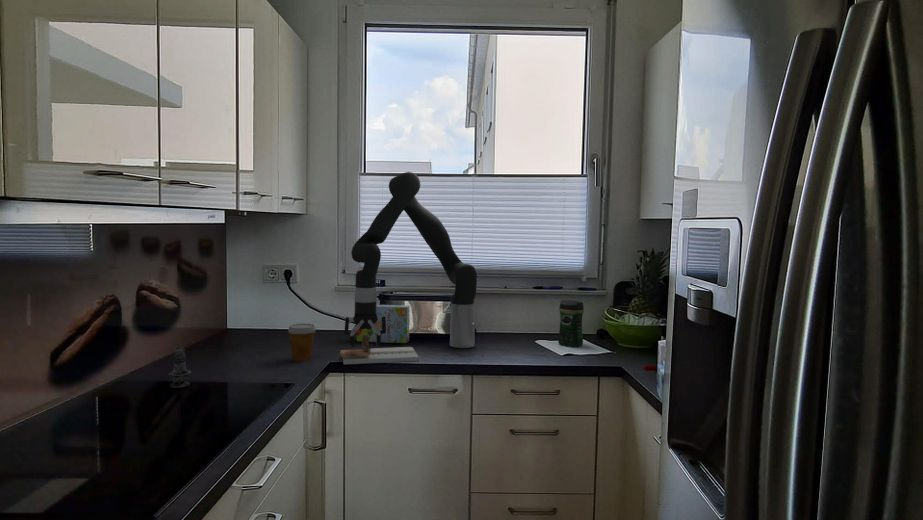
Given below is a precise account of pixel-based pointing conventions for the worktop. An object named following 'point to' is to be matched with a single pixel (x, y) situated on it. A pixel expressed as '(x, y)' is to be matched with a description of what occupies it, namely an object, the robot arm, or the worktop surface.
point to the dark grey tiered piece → (179, 369)
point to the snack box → (390, 324)
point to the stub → (361, 352)
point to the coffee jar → (571, 323)
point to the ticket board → (384, 356)
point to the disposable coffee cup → (301, 341)
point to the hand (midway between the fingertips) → (365, 345)
